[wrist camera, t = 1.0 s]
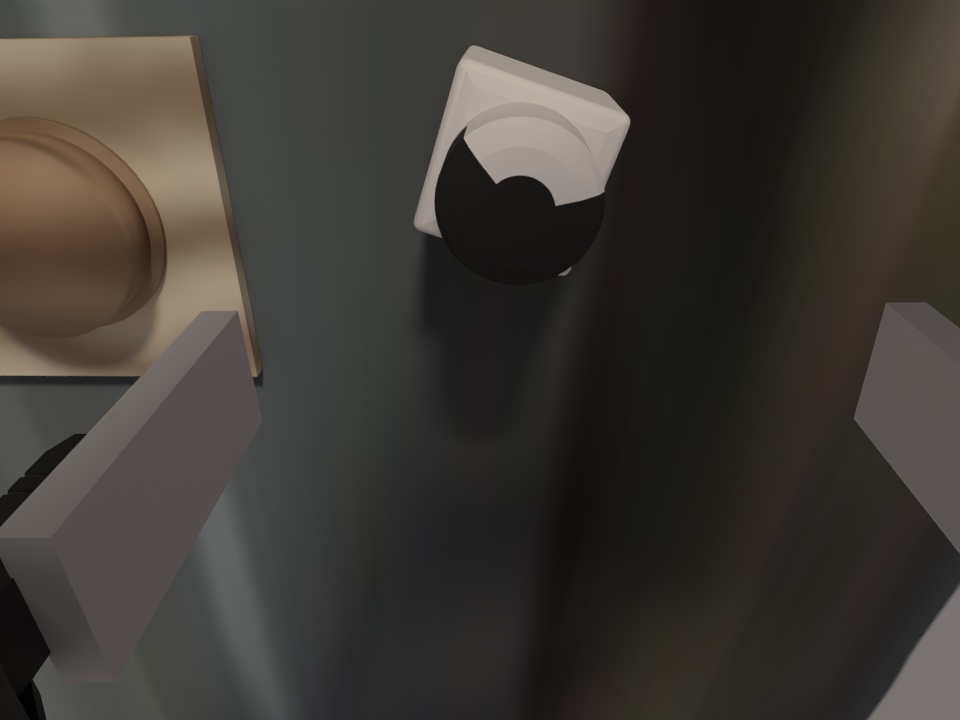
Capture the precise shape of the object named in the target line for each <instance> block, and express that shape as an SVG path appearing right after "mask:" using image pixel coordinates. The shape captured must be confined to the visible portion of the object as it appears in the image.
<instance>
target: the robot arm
mask: <svg viewBox="0 0 960 720" xmlns="http://www.w3.org/2000/svg"><path fill="white" fill-rule="evenodd" d="M854 420H855V421H856V422H857V423H858V425H859V426H860V427H861V428H862V430H863V431H864V432H865V434H866V435H867V436H868V437H869V439H870V440H871V441H872V442H873V444H874V445H875V446H876V448H877V449H878V450H879V451H880V453H881V454H882V455H883V456H884V458H885V459H886V460H887V462H888V463H889V464H890V465H891V467H892V468H893V469H894V470H895V472H896V473H897V474H898V475H899V477H900V478H901V479H902V481H903V482H904V483H905V484H906V486H907V487H908V488H909V489H910V491H911V492H912V493H913V495H914V496H915V497H916V498H917V500H918V501H919V502H920V503H921V505H922V506H923V507H924V509H925V510H926V511H927V512H928V514H929V515H930V516H931V517H932V519H933V520H934V521H935V522H936V524H937V525H938V526H939V528H940V529H941V530H942V531H943V533H944V534H945V535H946V536H947V538H948V539H949V540H950V542H951V543H952V544H953V545H954V547H955V548H956V549H957V550H958V552H959V553H960V328H958V327H957V326H956V325H954V324H953V323H952V322H951V321H949V320H948V319H947V318H945V317H944V316H943V315H941V314H940V313H939V312H938V311H936V310H935V309H934V308H932V307H931V306H930V305H928V304H927V303H926V302H920V303H886V305H885V309H884V312H883V316H882V319H881V323H880V326H879V330H878V334H877V337H876V341H875V344H874V348H873V351H872V355H871V358H870V362H869V366H868V369H867V373H866V376H865V380H864V383H863V387H862V391H861V394H860V398H859V401H858V405H857V408H856V412H855V415H854ZM261 423H262V417H261V413H260V408H259V404H258V399H257V395H256V390H255V386H254V381H253V377H252V372H251V368H250V363H249V359H248V354H247V350H246V345H245V341H244V336H243V332H242V327H241V323H240V318H239V314H238V311H202V312H201V313H200V314H199V315H198V316H197V317H196V318H195V319H194V320H193V321H192V322H191V323H190V324H189V325H188V327H187V328H186V329H185V330H184V331H183V332H182V333H181V334H180V335H179V336H178V337H177V338H176V339H175V340H174V342H173V343H172V344H171V345H170V346H169V347H168V348H167V349H166V350H165V351H164V352H163V353H162V354H161V355H160V357H159V358H158V359H157V360H156V361H155V362H154V363H153V364H152V365H151V366H150V367H149V368H148V369H147V370H146V372H145V373H144V374H143V375H142V376H141V377H140V378H139V379H138V380H137V381H136V382H135V383H134V384H133V385H132V387H131V388H130V389H129V390H128V391H127V392H126V393H125V394H124V395H123V396H122V397H121V398H120V399H119V400H118V402H117V403H116V404H115V405H114V406H113V407H112V408H111V409H110V410H109V411H108V412H107V413H106V414H105V415H104V417H103V418H102V419H101V420H100V421H99V422H98V423H97V424H96V425H95V426H94V427H93V428H92V429H91V430H90V432H89V433H88V434H74V435H73V436H71V437H69V438H68V439H66V440H64V441H63V442H61V443H60V444H58V445H56V446H55V447H53V448H51V449H50V450H48V451H46V452H45V453H44V454H43V455H42V456H41V457H40V458H39V459H38V460H37V461H36V462H35V463H34V464H33V465H32V466H31V467H30V468H29V469H28V470H27V471H26V472H25V477H20V478H19V479H18V480H17V481H16V482H15V483H14V484H13V485H12V487H11V488H10V489H9V490H8V494H7V495H3V496H2V497H1V498H0V720H46V716H45V712H44V708H43V703H42V699H41V695H40V693H39V691H38V689H37V687H36V685H35V683H34V681H33V680H32V679H33V678H34V676H35V675H36V673H37V672H38V670H39V669H40V667H41V666H42V664H43V663H44V662H45V660H46V659H47V657H48V656H49V655H50V657H51V659H52V661H53V663H54V665H55V667H56V669H57V671H58V673H59V675H60V677H61V679H62V681H63V682H85V683H115V682H116V680H117V679H118V677H119V675H120V673H121V671H122V670H123V668H124V666H125V664H126V663H127V661H128V659H129V657H130V655H131V654H132V652H133V650H134V648H135V647H136V645H137V643H138V641H139V639H140V638H141V636H142V634H143V632H144V631H145V629H146V627H147V625H148V623H149V622H150V620H151V618H152V616H153V615H154V613H155V611H156V609H157V607H158V606H159V604H160V602H161V600H162V599H163V597H164V595H165V593H166V591H167V590H168V588H169V586H170V584H171V583H172V581H173V579H174V577H175V575H176V574H177V572H178V570H179V568H180V567H181V565H182V563H183V561H184V559H185V558H186V556H187V554H188V552H189V551H190V549H191V547H192V545H193V543H194V542H195V540H196V538H197V536H198V535H199V533H200V531H201V529H202V527H203V526H204V524H205V522H206V520H207V519H208V517H209V515H210V513H211V511H212V510H213V508H214V506H215V504H216V503H217V501H218V499H219V497H220V495H221V494H222V492H223V490H224V488H225V487H226V485H227V483H228V481H229V479H230V478H231V476H232V474H233V472H234V471H235V469H236V467H237V465H238V463H239V462H240V460H241V458H242V456H243V455H244V453H245V451H246V449H247V447H248V446H249V444H250V442H251V440H252V439H253V437H254V435H255V433H256V431H257V430H258V428H259V426H260V424H261Z"/></svg>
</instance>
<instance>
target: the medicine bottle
mask: <svg viewBox="0 0 960 720" xmlns="http://www.w3.org/2000/svg"><path fill="white" fill-rule="evenodd" d="M629 126H630V119H629V116H628V115H627V114H626V113H625V112H624V111H623V110H622V109H621V108H620V107H619V105H618V104H617V103H616V102H615V101H614V100H613V99H612V98H611V97H610V96H609V95H608V94H607V93H606V92H605V91H602V90H599V89H596V88H594V87H591V86H588V85H585V84H582V83H579V82H577V81H574V80H571V79H568V78H565V77H563V76H560V75H557V74H554V73H551V72H548V71H546V70H543V69H540V68H537V67H534V66H532V65H529V64H526V63H523V62H520V61H517V60H515V59H512V58H509V57H506V56H503V55H501V54H498V53H495V52H492V51H489V50H486V49H484V48H481V47H478V46H471V47H469V48H468V49H467V51H466V52H465V54H464V56H463V57H462V59H461V60H460V62H459V64H458V65H457V69H456V72H455V76H454V79H453V83H452V86H451V90H450V93H449V97H448V101H447V104H446V108H445V111H444V115H443V118H442V122H441V125H440V129H439V133H438V136H437V140H436V143H435V147H434V150H433V154H432V158H431V161H430V165H429V168H428V172H427V175H426V179H425V182H424V186H423V190H422V193H421V197H420V200H419V204H418V207H417V211H416V214H415V218H414V225H415V227H416V229H418V230H419V231H422V232H425V233H428V234H431V235H434V236H437V237H440V238H443V240H444V241H445V243H446V245H447V247H448V248H449V249H450V251H451V252H452V254H453V255H454V256H455V257H456V258H457V259H458V260H459V261H460V262H461V263H462V264H463V265H464V266H466V267H467V268H468V269H469V270H471V271H473V272H474V273H476V274H478V275H479V276H482V277H484V278H486V279H489V280H492V281H495V282H499V283H504V284H511V285H524V284H533V283H537V282H541V281H545V280H548V279H550V278H553V277H555V276H557V275H560V276H564V275H567V274H568V273H569V271H570V270H571V267H572V266H573V265H574V264H575V263H576V262H577V261H578V260H579V259H580V258H581V257H583V255H584V254H585V253H586V252H587V250H588V249H589V248H590V246H591V245H592V243H593V241H594V240H595V238H596V236H597V234H598V231H599V229H600V226H601V223H602V219H603V215H604V207H605V190H604V187H605V185H606V182H607V180H608V177H609V175H610V172H611V170H612V168H613V165H614V163H615V160H616V158H617V155H618V153H619V151H620V148H621V146H622V143H623V141H624V139H625V136H626V134H627V131H628V129H629Z"/></svg>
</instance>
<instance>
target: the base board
mask: <svg viewBox="0 0 960 720" xmlns="http://www.w3.org/2000/svg"><path fill="white" fill-rule="evenodd" d="M202 311H238V314H239V318H240V323H241V327H242V332H243V336H244V341H245V345H246V350H247V354H248V359H249V363H250V368H251V372H252V377H258V375H259V374H260V372H261V370H262V369H263V366H262V361H261V356H260V351H259V346H258V341H257V335H256V330H255V325H254V320H253V315H252V310H251V305H250V299H249V294H248V289H247V284H246V279H245V274H244V268H243V263H242V258H241V253H240V248H239V243H238V237H237V232H236V227H235V222H234V217H233V212H232V206H231V201H230V196H229V191H228V186H227V181H226V175H225V170H224V165H223V160H222V155H221V150H220V144H219V139H218V134H217V129H216V124H215V119H214V113H213V108H212V103H211V98H210V93H209V88H208V83H207V77H206V72H205V67H204V62H203V57H202V52H201V46H200V41H199V36H144V37H80V38H17V39H0V376H142V375H143V374H144V373H145V372H146V370H147V369H148V368H149V367H150V366H151V365H152V364H153V363H154V362H155V361H156V360H157V359H158V358H159V357H160V355H161V354H162V353H163V352H164V351H165V350H166V349H167V348H168V347H169V346H170V345H171V344H172V343H173V342H174V340H175V339H176V338H177V337H178V336H179V335H180V334H181V333H182V332H183V331H184V330H185V329H186V328H187V327H188V325H189V324H190V323H191V322H192V321H193V320H194V319H195V318H196V317H197V316H198V315H199V314H200V313H201V312H202Z"/></svg>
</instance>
